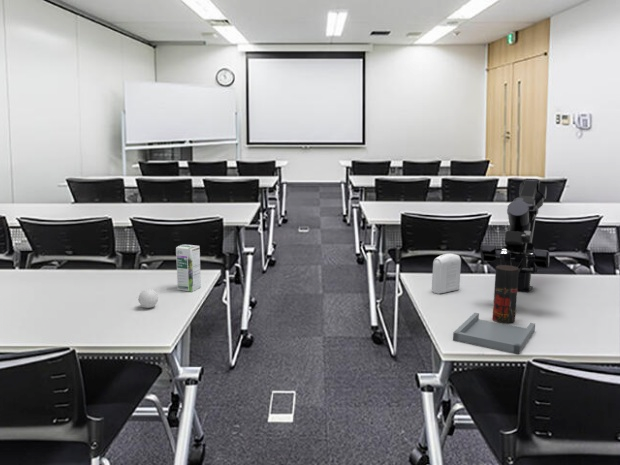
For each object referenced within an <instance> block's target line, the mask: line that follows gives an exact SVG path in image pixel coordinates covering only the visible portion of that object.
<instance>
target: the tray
mask: <svg viewBox="0 0 620 465" xmlns="http://www.w3.org/2000/svg"><path fill="white" fill-rule="evenodd" d="M535 330H536V323H534V322H530V323H529V325H528V326H527V327H521V326H517V325H511V324H503V323H498V322H495V321H491V320H484V319H480V313H479V312H473V313H472V314H471V315H470V316H469V317H468V318H467V319H466V320H465V321H464V322H462V324H461V325H460V326H458V328H457V329H455V330H454V331H453V334H452V335H453V336H452V341H455V342H456V341H457V342H461V343H466V344H470V345H475V346H478V347H479V346H480V347H484V348H489V349H493V350H499V351H502V352H503V351H504V352H508V353H513V354H517V355H519V354H520V353H521V352H522V351H523V350H524V348H525V346H526V345H527V343H528V341H529V340H530V339H531V337H532V336H533V334H534V332H535Z"/></svg>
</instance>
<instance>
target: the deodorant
mask: <svg viewBox="0 0 620 465" xmlns="http://www.w3.org/2000/svg"><path fill="white" fill-rule="evenodd" d="M494 274H495V278H494V288H493V289H494V291H493V292H494V293H493V304H492V306H493V307H492V321H493V322H496V323H502V324H507V325H511V324H514V323H515V322H516V312H517V301H518V300H517V298H518V290H517V288H518V274H519V268H518V267H515V266H509V265H501V264H499V265H496V266H495V273H494Z"/></svg>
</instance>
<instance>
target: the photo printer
mask: <svg viewBox="0 0 620 465" xmlns="http://www.w3.org/2000/svg"><path fill="white" fill-rule="evenodd" d="M461 265H462V258H461V256H460V255H459V254H455V253H444V254H441V255H439V256H437V257H435V258H434V259H433V262H432V274H431V275H432V279H431V290H432V293H434V294H445V293H449V292H453V291H458V290H459V289H460V282H461V269H462V266H461Z"/></svg>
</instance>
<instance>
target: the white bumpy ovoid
mask: <svg viewBox="0 0 620 465" xmlns="http://www.w3.org/2000/svg"><path fill="white" fill-rule="evenodd" d="M137 301H138V303H139V305H140V306H141V307H143V308H145V309H151V308H153V307H155V306H157V304H158V301H159V296H158V293H157V292H156V291H155V290H154V289H150V288H146V289H144V290H142V291H141V292H140V293H139V295H138V300H137Z"/></svg>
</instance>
